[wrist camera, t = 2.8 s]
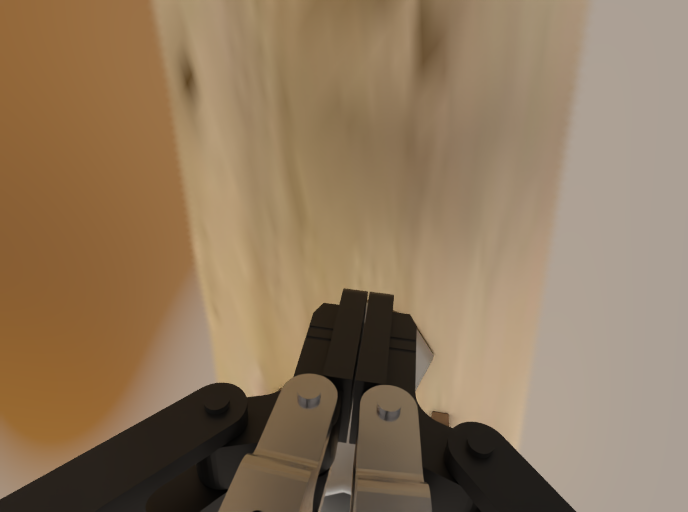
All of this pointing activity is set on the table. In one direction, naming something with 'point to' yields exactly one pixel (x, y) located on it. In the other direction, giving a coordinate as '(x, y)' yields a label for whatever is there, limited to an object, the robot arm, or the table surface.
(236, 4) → the table surface
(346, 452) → the flask
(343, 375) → the robot arm
